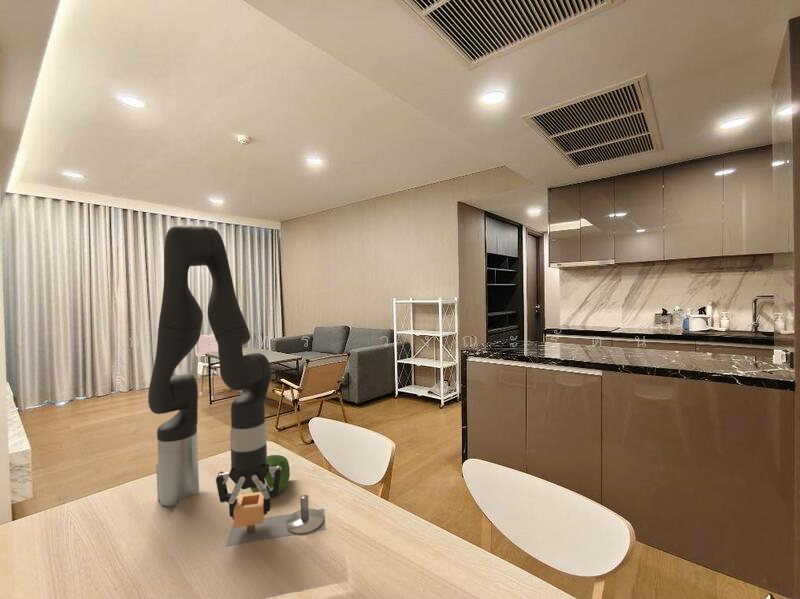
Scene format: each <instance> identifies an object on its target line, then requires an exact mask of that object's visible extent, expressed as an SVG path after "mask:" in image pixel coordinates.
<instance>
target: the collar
mask: <svg viewBox="0 0 800 599" xmlns="http://www.w3.org/2000/svg"><path fill="white" fill-rule="evenodd" d="M236 498H237V502H236V505H235V507H234V519H233V523H234V528H236V527H243V526H249V525H256V524H262V523H263V521H264V518H265V515H264V501H263V499H264V496H263V494H262V493H261V492H255V493H253V492H248V493H243V494H242V493H241V494H240V493H239V494H238V495H237V497H236Z"/></svg>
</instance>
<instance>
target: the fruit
mask: <svg viewBox="0 0 800 599" xmlns="http://www.w3.org/2000/svg"><path fill="white" fill-rule="evenodd" d="M267 463H268V465H269V467H276V466H277V465H281V474H280V481H279V489H278V494H277V495H279V494H281V493H282V492H283V490H284V489H285V488H286V487H287V485H288V483H289V479H290V476H291V473H290V472H291V471H290V465H289V460H288V458H287V457H285V456H283V455H279V454H271V455H267ZM274 478H275V477H272V476H271V473H270V472H269V473H268V474H267V476H266V477H265V479H266V481H267V484H268V486H269V488H272V487H273V485H274ZM250 491H251V493H255V492H260V491H259V489H258V488H250ZM277 495H273V496H271V498H273V497H275V496H277Z"/></svg>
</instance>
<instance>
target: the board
mask: <svg viewBox="0 0 800 599" xmlns="http://www.w3.org/2000/svg"><path fill="white" fill-rule="evenodd" d="M318 510H319V511H320V512H321V513H322V514H323V517H324V520H323V523H322V525H321V526H320V527H319V528H318V529H316V530H314V531H312V532H311V533H313V532H319V531H323V530H326V519H325V508H321V509H318ZM291 514H292V513H288V514H287V513H286V514H281V515H275V516H268V517H264V521H263V523H262V524H256V525H255V531H254V532H252V533H247V526H243V527H236V528H234V522H232V525H231V527H230V531H229V534H228V537H227V541H226V544H225V547H231V546H236V545H242V544H248V543H253V542H259V541H265V540H272V539H276V538H283V537H289V536H295V535H297V534H294V533H291V532H289V531H288V530H287V528H286V520H287V519H288V517H289V516H290V515H291Z"/></svg>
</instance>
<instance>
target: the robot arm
mask: <svg viewBox="0 0 800 599" xmlns="http://www.w3.org/2000/svg"><path fill="white" fill-rule="evenodd" d="M225 246H226V245H225V243H224V240H223V238H222V236H221V234H220V233H219V230H217V229H216V228H215V227H213V226H212V227H211V226H207V225H206V226H205V225H184V224H183V225H182V224H181V225H179V224H177V225H172V226H171V227H170V228H169V229H168V230H167V232H166V235H165V239H164V246H163V247H164V248H163V288H162V299H161V306H160V307H161V308H160V313H159V320H158V328H157V341H156V353H155V358H154V359H155V360H154V363H153V369H152V373H151V377H150V382H149V387H148V394H147V397H148V400H147V401H148V402H147V403H148V406H149V409H150V411H151V412H152V413H153V414H155V415H156V414H157V415H161V414H162V415H163V414H168V413H173V412H177V411H178V412H177V413H176V414H175V415H174V416H172V417H171V418H169V420H167V421H164V423H162V424H160V425H159V426H158V428H157V431H156V440H157V442H156V444H157V465H155V466H156V467H155V469H156V486H157V487H156V489H157V500H159V503H160V505H162V507H163V506H164V507H176V506H177V505H178V503H179V502H180V501H182V500H185V499H187V498H189V497H191V496H193V495H194V494H199V493H200V481H199V480H200V475H199V449H198V447H199V446H198V420H199V419H198V414H199V413H198V408H199V406H198V405H199V389H198V383H197V379H196V378H195V376H194V375H193V374H191V373H183V374H178V375H173V374H174V372H175V370H176V368H177V367H178V366H179V365H180V363H181V362H182V361H183V360H184V359H185V358H186V357H187V355H189V354H190V353H191V352H192V350H193V349H194V348H195V346H196V345H197V344H198V342H199V340H200V338H201V334H202V328H203V327H202V326H203V322H204V321H203V320H204V314H203V310H202V308H201V307H200V304H199V302H198V301H197V299H196V298H195V296H194V295H193V293H192V291H191V289H190V288H189V281H188V280H189V279H188V278H189V277H188V276H189V270H190V268H191V267H202V266H206V267H207V268H208V270H209V273H210V275H211V282H212V284H211V291H210V296H209V300H208V304H207V318H208V322H209V326H210V328H211V331H212V333H213V335H214V338H215V341H216V343H217V347H218V348H217V352H218V361H219V362H218V363H219V372H220V377H221V379H222V381H223V383H224V385H225V386H226V387H228V389H230V390H233V391H242V392H241V394H239V395H238V396H237V397H236V398H234V400H233V401H232V402H231V404H230V405H231V406H230V417H231V420H230V421H231V425H230V426H231V427H230V463H231V464H230V467H231V468H230V470H229V471H226V472H224V471H219V472H218V473H217V476H216V477H215V483H216V488H217V492H218V494H217V495H218V497H219V498H218V499H219V502H220V503H222V504H223V503H228V506H229V507H228V508H229V512H228V513H229V517H231V518H232V520H234V507H235V505H236V502H237V498H238V495H240V491H241V490H247V489H249V488H250V489H251V488H258V489H259V491H260V492H261V493H262V494H263V496H264V499H263V501H264V515H268V512H270V511H271V503H272V502H271V498H272V497H271V496H273V495H276V496H277V494H278V489H279V481H280V474H281V465H277V466H276V467H269V465H268V463H267V456H268V449H267V447H268V446H267V440H268V434H267V427H266V426H267V425H266V415H265V414H266V413H265V411H266V409H265V402H266V398H267V395H268V391H269V386H270V382H271V375H272V370H271V368H272V367H271V364H270V362H269V361H270V360H268V357H267V356H266V355H265V354H263V353H260V352H252V353H248V354H245V355H244V353H243V346H244V345H246V344H248V343H249V342H250V340H251V333H250V330H249V328H248V326H247V322H246V320H245V317H244V316H243V313H242V312H243V311H242V310H241V308H240V304H239V302H238V299H237V295H236V290H235V286H234V282H233V276H232V272H231V268H230V263H229V260H228V259H229V258H228V254H227V250H226V247H225ZM269 472H270V473H271V476H272V477H275V478H274V485H273V487H272V488H269V486H268V484H267V481H266V479H265V477H266V476H267V474H268V473H269ZM229 479H230V480H232V482H233V483H234V484H235V485H234V487H233V490H232V491H231V492H228V487H227V482H228V480H229ZM278 495H279V494H278ZM273 497H274V496H273Z"/></svg>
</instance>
